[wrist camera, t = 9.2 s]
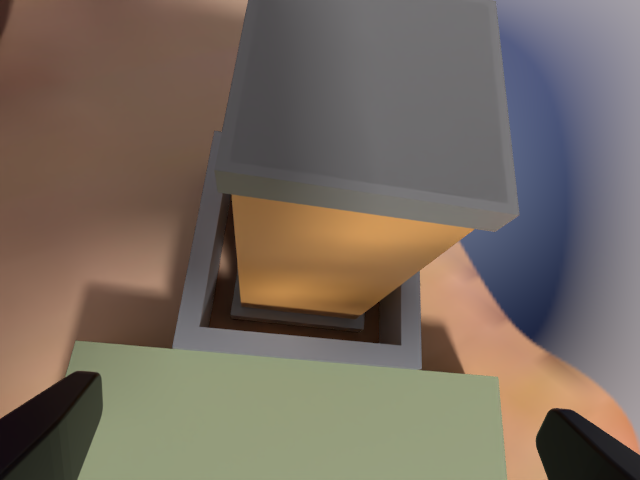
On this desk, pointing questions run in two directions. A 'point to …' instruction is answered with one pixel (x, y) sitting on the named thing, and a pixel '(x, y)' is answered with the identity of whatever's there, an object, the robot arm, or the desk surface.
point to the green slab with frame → (285, 395)
